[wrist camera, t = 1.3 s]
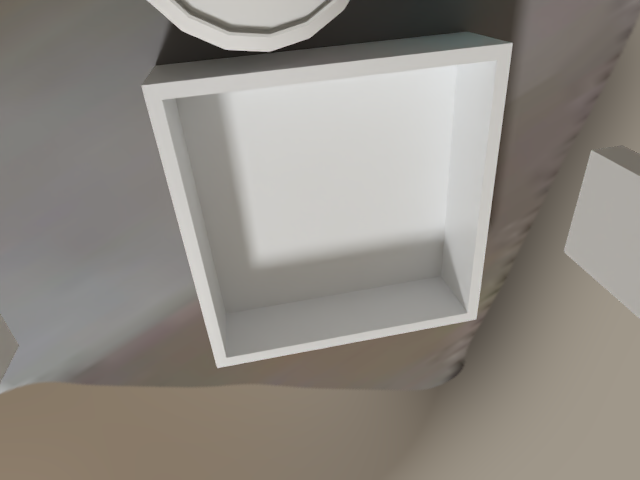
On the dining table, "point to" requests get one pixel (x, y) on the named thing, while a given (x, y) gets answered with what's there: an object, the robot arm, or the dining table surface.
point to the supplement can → (250, 20)
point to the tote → (333, 187)
